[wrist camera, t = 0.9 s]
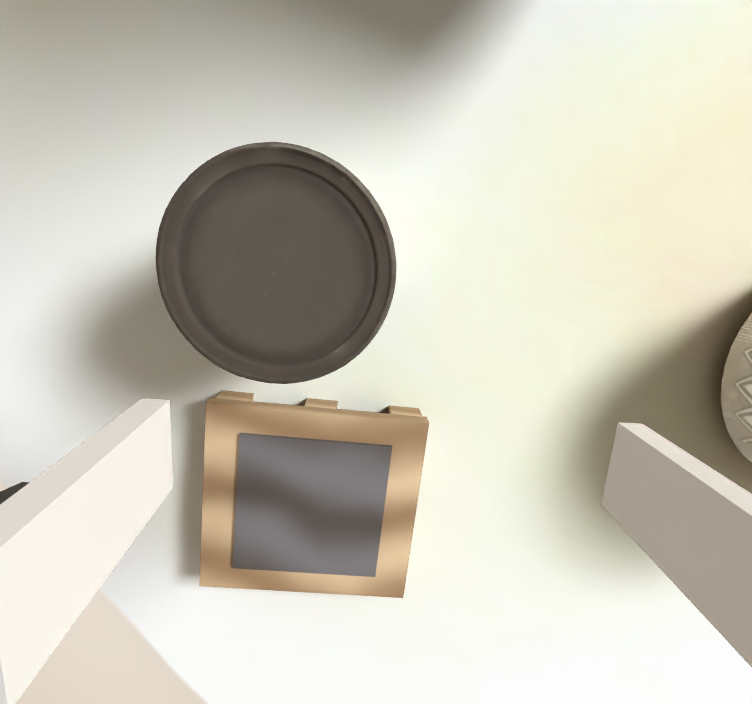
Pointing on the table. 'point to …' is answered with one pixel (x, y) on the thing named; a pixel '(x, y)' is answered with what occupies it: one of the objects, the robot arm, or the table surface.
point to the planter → (739, 390)
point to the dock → (309, 496)
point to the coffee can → (276, 263)
